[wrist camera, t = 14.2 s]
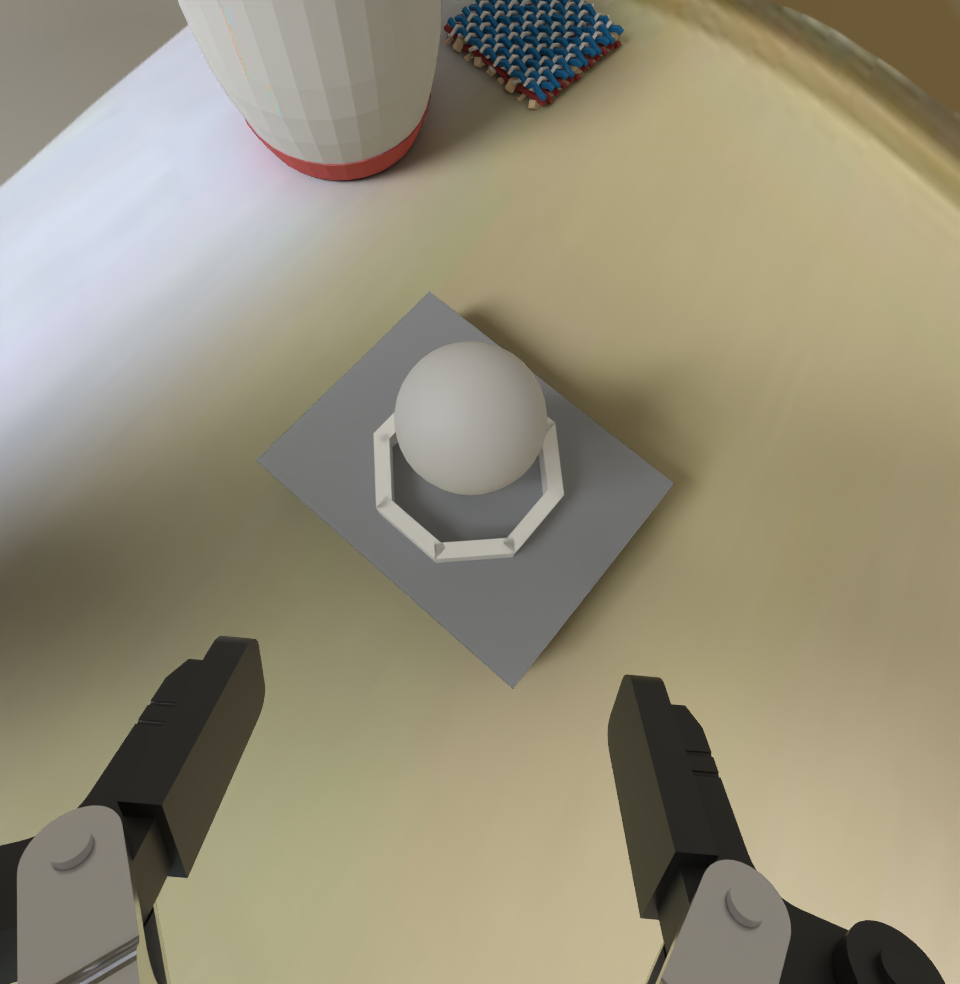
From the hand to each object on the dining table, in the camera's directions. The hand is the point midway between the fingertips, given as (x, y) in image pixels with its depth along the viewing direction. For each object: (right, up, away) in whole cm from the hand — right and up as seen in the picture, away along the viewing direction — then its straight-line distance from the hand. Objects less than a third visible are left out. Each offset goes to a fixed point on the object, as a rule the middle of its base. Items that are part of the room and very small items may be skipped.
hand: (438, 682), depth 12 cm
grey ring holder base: (0, +4, +22) cm, 22 cm away
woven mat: (+5, +39, +32) cm, 51 cm away
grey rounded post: (0, +5, +18) cm, 19 cm away
